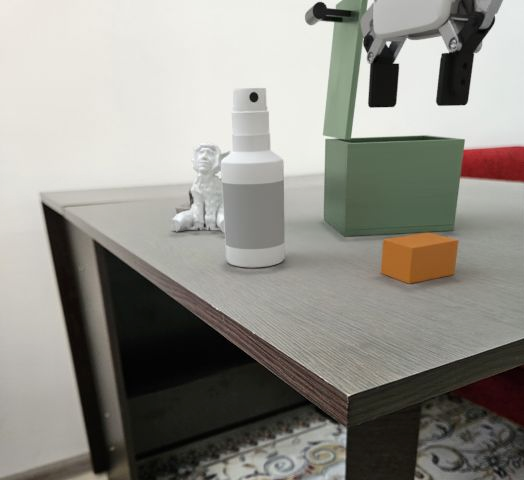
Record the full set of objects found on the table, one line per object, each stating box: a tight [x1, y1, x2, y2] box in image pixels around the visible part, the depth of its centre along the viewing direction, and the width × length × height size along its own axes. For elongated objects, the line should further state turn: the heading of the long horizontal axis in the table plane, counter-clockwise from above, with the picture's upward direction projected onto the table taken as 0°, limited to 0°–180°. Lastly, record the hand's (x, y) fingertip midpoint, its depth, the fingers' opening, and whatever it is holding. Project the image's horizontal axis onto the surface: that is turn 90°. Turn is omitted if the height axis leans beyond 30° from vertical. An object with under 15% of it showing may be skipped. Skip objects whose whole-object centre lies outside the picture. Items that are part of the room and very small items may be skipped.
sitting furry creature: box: [169, 141, 231, 234], centre depth 77 cm, size 10×9×12 cm
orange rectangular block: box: [380, 232, 459, 285], centre depth 54 cm, size 6×4×4 cm
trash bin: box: [323, 134, 466, 237], centre depth 75 cm, size 16×13×12 cm
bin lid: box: [304, 0, 369, 140], centre depth 68 cm, size 16×13×6 cm
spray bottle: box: [220, 87, 286, 269], centre depth 57 cm, size 7×7×18 cm
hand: (414, 106), depth 50 cm, fingers open, 9 cm apart
